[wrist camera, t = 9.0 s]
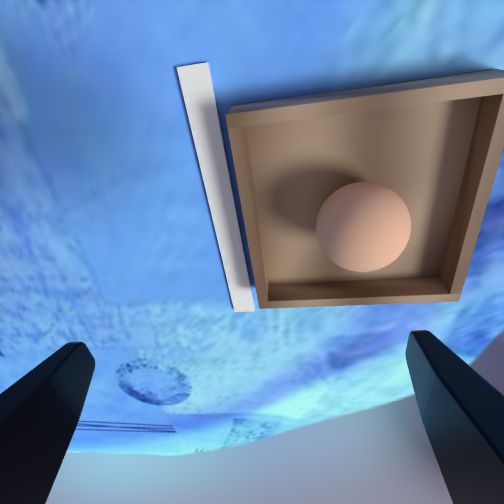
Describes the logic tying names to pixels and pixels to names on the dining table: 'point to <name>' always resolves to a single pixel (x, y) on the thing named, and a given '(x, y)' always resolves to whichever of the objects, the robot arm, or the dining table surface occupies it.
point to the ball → (363, 226)
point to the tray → (368, 170)
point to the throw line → (216, 178)
